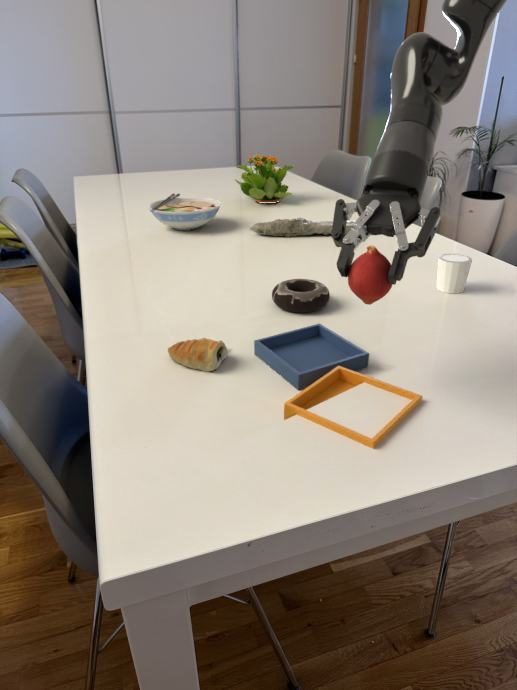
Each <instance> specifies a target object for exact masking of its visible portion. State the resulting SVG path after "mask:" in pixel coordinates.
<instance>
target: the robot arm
mask: <svg viewBox="0 0 517 690" xmlns="http://www.w3.org/2000/svg"><path fill="white" fill-rule="evenodd" d="M507 2H508V0H443V1H442V5H441V11H442V14H443V16H444V17H445V18H446V19H447V20H448V21H449V22H450V24H451V25H452V26H453V27H454V28H455V29H456V32H457V40H456V45H455V47H454V49H453V48H452V47H451V46H449V45H448V44H446V43H445V42H443V41H442V40H440V39H438V38H437V37H435V36H433V35H432V34H430V33H427V32H425V31H423V32H422V31H420V32H419V31H418V32H415V33H413V34H412V33H411V34H410V35H409V36H407V38H405V39H404V40H403V42H402V43H400V46H399V47H398V48H397V51H396V52H395V56H394V58H393V61H392V65H391V73H390V98H391V99H390V112H389V116H388V119H387V122H386V125H385V127H384V132H383V134H382V137H381V138H380V139H379V142H378V144H377V147H376V150H375V153H374V156H373V160H372V163H371V165H370V169H369V172H368V175H367V179H366V181H365V185H364V188H363V193H362V194H361V196H360V197H359V198H358V199H357V200H356V202H345V199H343V198H340V199H337V200H336V201H335V206H334V211H333V219H332V221H333V225H332V232H331V234H330V235H331V239H332V241H333V243H334V246H335V247H336V248H340V251H339V255H338V257H337V261H336V268H337V270H338V273H339V274H340V277H342V278H348V272H349V269H350V266H351V265H352V263H353V262H354V258H355V251H356V250H357V249H358V247H359V246H360V245H361V244H362V243H365V242H366V241H367V240H368V239H369V237H370V236H385V237H388V238H394V237H395V238H396V241H397V242H396V243H397V250H395V251H394V255H393V258H392V261H391V268H390V271H389V275H388V280H389V284H392V286H393V285H394V286H395V285H396V284H397V281H398V282H401V281H402V279H403V278H404V274H405V271H406V268H407V263H408V261H409V259H411V258H413V257H417V258H423V257H425V255H426V254H427V252H428V250H429V247H430V245H431V244H432V242H433V240H434V237H435V235H436V233H437V231H438V229H439V227H440V225H441V222H442V220H441V217H442V216H441V209H440V208H439V207H437V206H434V207H432V208H431V209H428V208H425V207H421V201H422V199H423V198H422V197H423V195H424V190H425V187H426V183H427V180H428V176H429V173H430V171H431V169H432V163H433V158H434V154H435V153H434V151H435V144H436V141H437V138H438V135H439V131H440V127H441V125H442V120H443V114H444V110H443V106H445V105H448V104H449V103H451V102H452V101H454V100H455V99H456V98H457V97H458V96H459V95H460V93H461V92H462V90H463V89H464V87H465V85H466V83H467V81H468V78H469V76H470V73H471V71H472V68H473V65H474V63H475V60H476V57H477V55H478V52H479V51H480V49H481V46H482V44H483V42H484V39H485V37H486V35H487V34H488V31H489V29H490V27H491V25H492V23H493V22H494V21H495V19H496V17H497V16H498V14H499V13H500V12H501V10H502V9H503V8H504V5H505V4H506V3H507ZM355 213H357V215H358V218H357V219H356V220H354V221H355V222H354V224H353V226H352V229H351V230H350V231H349V232H348V233H347V234H346V235H345V231H346V223H347V221H351V219H352V217H353V215H354V214H355ZM419 219H420V223H421V226H422V227H421V228H420V230H419V232H418V234H417V237H416V239H415V241H412V242H409V241H408V237H407V232H406V229H407V228H409V227H410V226H411V225H412V224H414V223H415V222H416V221H418V220H419Z"/></svg>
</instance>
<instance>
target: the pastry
mask: <svg viewBox="0 0 517 690" xmlns="http://www.w3.org/2000/svg"><path fill="white" fill-rule="evenodd" d="M167 353H168V355H169V356H168V357H170V360H172V361H173V362H174V363H177V364H178V365H181V366H183V367H186V368H188V369H191V370H196V369H197V370H200V371H201V370H202V371H201V372H214V370H215V369H216V370H217V369H219V367H220V366H221V364H222V361H224V360H225V359H226V358H227V356H228V349H227V346H226V344H225V342H224V341H222V339H221V340H214V339H209V338H206V337H202V338H199V339H197V338H196V339H186V340H182V341H178V342H176V343H175V344H173V345H171V346H169V347H168V348H167ZM216 370H215V371H216Z"/></svg>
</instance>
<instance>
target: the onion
mask: <svg viewBox="0 0 517 690" xmlns="http://www.w3.org/2000/svg"><path fill="white" fill-rule="evenodd" d="M391 264H392V262H391V261H389V259H388V258H387V257H386V256H385V255H384V254H383V253H381V251H380V250H378V248H377V247H376V246H375V245H372V244H370V245H368V246H366V251H365V252H364V253H361V254H360V255H359V256H358V257H357V258H356V259H354V260H353V261H352V264H351V266H350V269H349V272H348V277H347V284H348V287H349V289H350V291H351V292H352V294H354V295H355V296H356V297H357V298H358V299H360V300H361V301H362V302H363V303H364V305H372V304H374V303H376V302H378V301H380V300H381V299H383V298H384V297H385V296H387V294H389V292H390V291H391V289H392V287H393V284H389V280H388V275H389V271H390V268H391Z"/></svg>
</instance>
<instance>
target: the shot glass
mask: <svg viewBox="0 0 517 690" xmlns="http://www.w3.org/2000/svg"><path fill="white" fill-rule="evenodd" d="M472 263H473V259H472V257H471V256H468V255H465V254H461V253H452V252H451V253H442V254H439V255H438V256H437V269H436V270H437V271H436V289H437V290H438V291H439V292H442V293H446V294H460V293H463V292H464V290H465V287H466V284H467V280H468V276H469V273H470V269H471V266H472Z"/></svg>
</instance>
